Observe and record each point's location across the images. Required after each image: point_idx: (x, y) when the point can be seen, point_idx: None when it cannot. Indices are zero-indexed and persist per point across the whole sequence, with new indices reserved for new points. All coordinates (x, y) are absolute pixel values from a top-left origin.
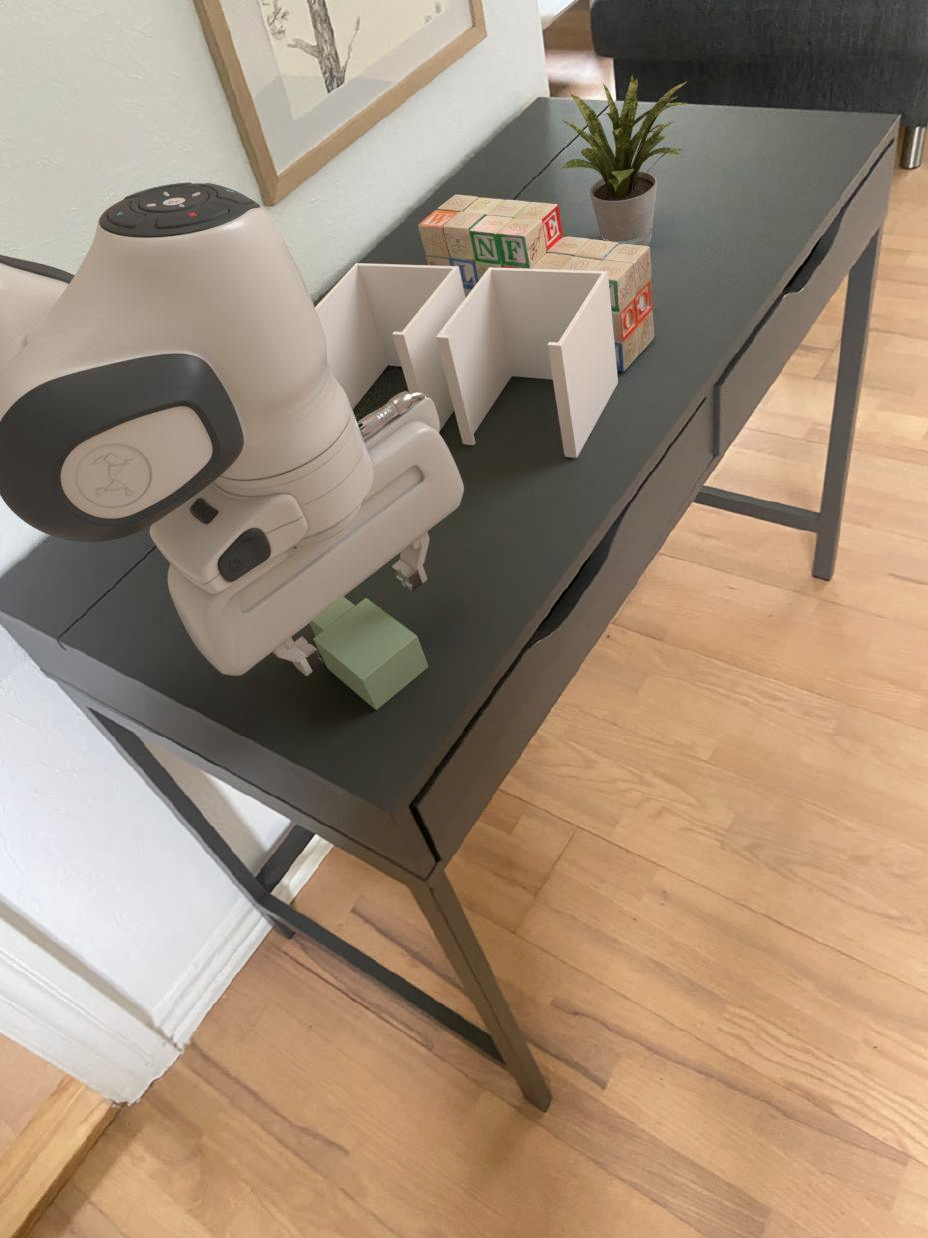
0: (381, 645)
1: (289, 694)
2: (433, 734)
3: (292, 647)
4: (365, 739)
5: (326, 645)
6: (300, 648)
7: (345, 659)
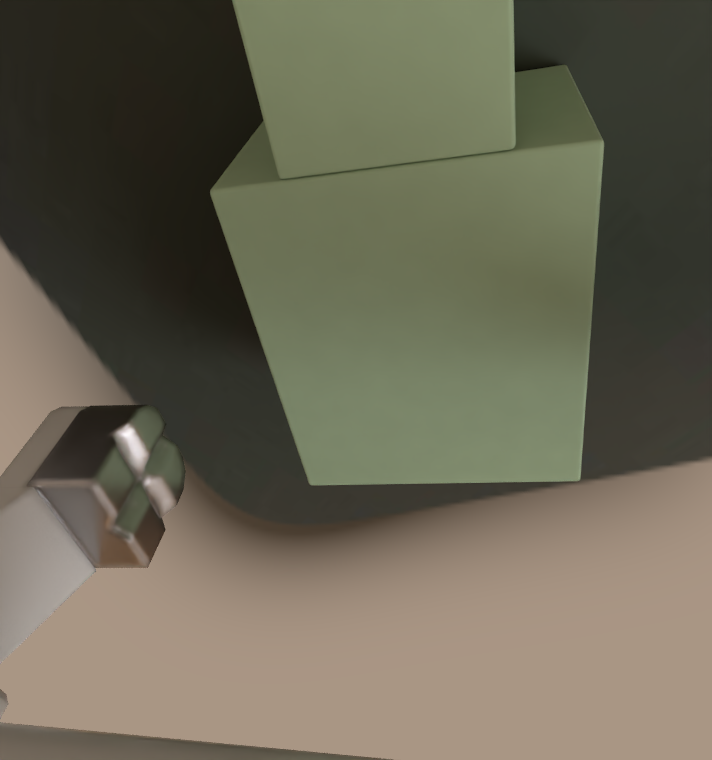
0: (449, 429)
1: (94, 111)
2: (417, 498)
3: (20, 580)
4: (271, 413)
5: (255, 275)
6: (74, 525)
7: (297, 389)
